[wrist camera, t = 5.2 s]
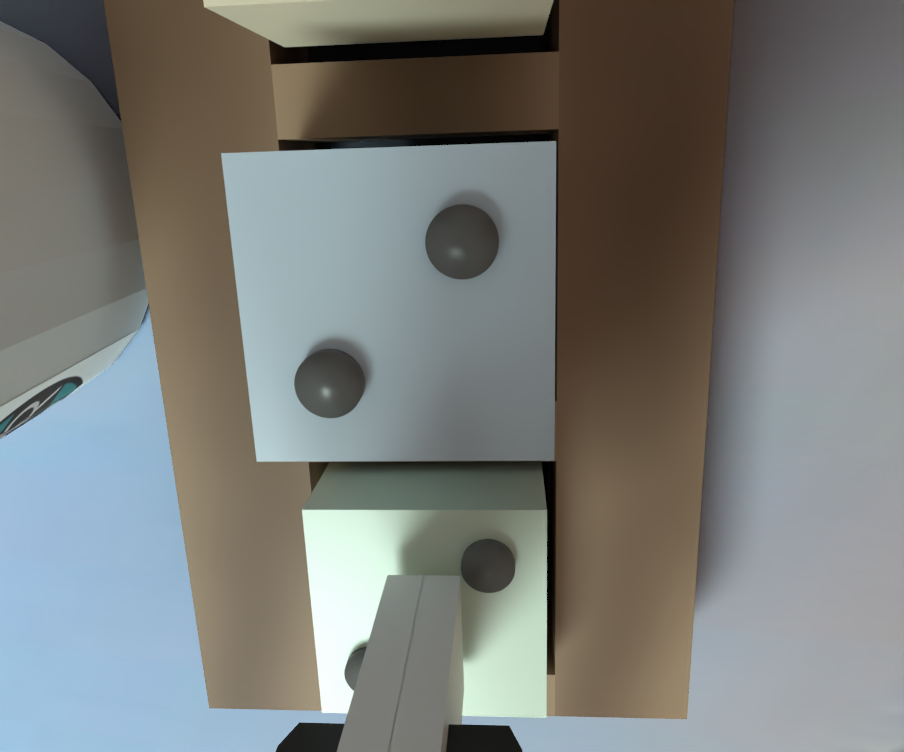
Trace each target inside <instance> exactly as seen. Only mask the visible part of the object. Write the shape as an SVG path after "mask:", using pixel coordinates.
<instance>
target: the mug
mask: <svg viewBox="0 0 904 752" xmlns="http://www.w3.org/2000/svg"><path fill="white" fill-rule="evenodd" d="M148 304H149V303H148V296H147V289H146V283H145V276H144V269H143V263H142V256H141V249H140V243H139V236H138V229H137V223H136V216H135V209H134V202H133V196H132V189H131V182H130V176H129V169H128V162H127V156H126V149H125V142H124V136H123V129H122V122H121V121H120V120H119V118H118V117H117V116H116V114H115V113H114V112H113V110H112V109H111V108H110V106H109V105H108V103H107V102H106V101H105V99H104V98H103V97H102V95H101V94H100V93H99V91H98V90H97V89H96V87H95V86H94V85H93V83H92V82H91V81H90V80H88V79H87V78H86V77H85V76H84V75H83V74H81V73H80V72H79V71H78V70H77V69H75V68H74V67H73V66H72V65H71V64H70V63H68V62H67V61H66V60H65V59H64V58H63V57H61V56H60V55H59V54H58V53H57V52H55V51H54V50H53V49H52V48H51V47H50V46H48V45H47V44H45V43H43V42H41V41H39V40H37V39H35V38H33V37H31V36H29V35H27V34H25V33H23V32H21V31H19V30H17V29H15V28H13V27H11V26H9V25H7V24H5V23H3V22H1V21H0V439H1V438H3V437H4V436H6V435H8V434H9V433H11V432H12V431H14V430H15V429H17V428H19V427H20V426H22V425H23V424H25V423H26V422H28V421H30V420H31V419H33V418H34V417H36V416H37V415H39V414H41V413H42V412H44V411H45V410H47V409H48V408H50V407H52V406H53V405H55V404H56V403H58V402H59V401H61V400H63V399H64V398H66V397H67V396H69V395H70V394H72V393H74V392H75V391H76V390H78V389H80V388H81V387H82V386H84V385H85V384H87V383H88V382H89V381H91V380H92V379H93V378H95V377H96V376H98V375H99V374H100V373H102V372H103V371H105V370H106V369H107V368H109V367H110V366H111V365H113V364H114V362H115V361H116V360H117V358H118V357H119V356H120V354H121V353H122V352H123V350H124V349H125V348H126V346H127V345H128V344H129V342H130V341H131V340H132V338H133V337H134V336H135V334H136V333H137V332H138V330H139V329H140V326H141V323H142V321H143V318H144V315H145V312H146V309H147V307H148Z"/></svg>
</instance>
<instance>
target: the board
mask: <svg viewBox="0 0 904 752" xmlns="http://www.w3.org/2000/svg"><path fill="white" fill-rule="evenodd" d="M103 2H104V9H105V16H106V22H107V29H108V36H109V42H110V49H111V56H112V62H113V69H114V76H115V82H116V89H117V96H118V102H119V109H120V116H121V122H122V129H123V136H124V142H125V149H126V156H127V162H128V169H129V176H130V182H131V189H132V196H133V202H134V209H135V216H136V223H137V229H138V236H139V243H140V249H141V256H142V263H143V269H144V276H145V283H146V289H147V296H148V303H149V309H150V316H151V323H152V329H153V336H154V343H155V349H156V356H157V363H158V369H159V376H160V383H161V389H162V396H163V403H164V409H165V416H166V423H167V429H168V436H169V443H170V449H171V456H172V463H173V469H174V476H175V483H176V489H177V496H178V503H179V509H180V516H181V523H182V529H183V536H184V543H185V549H186V556H187V563H188V569H189V576H190V583H191V589H192V596H193V603H194V609H195V616H196V623H197V629H198V636H199V643H200V649H201V656H202V663H203V669H204V676H205V683H206V689H207V696H208V703H209V708H226V709H270V710H314V711H322V708H321V698H320V688H319V678H318V667H317V657H316V647H315V637H314V627H313V617H312V607H311V597H310V587H309V577H308V567H307V557H306V546H305V536H304V526H303V516H302V509H303V507H304V505H305V504H306V502H307V500H308V498H309V497H310V495H311V493H312V492H313V490H314V488H315V486H316V485H317V483H318V481H319V480H320V478H321V476H322V474H323V473H324V471H325V469H326V467H327V466H328V464H329V462H470V461H297V462H257V460H256V451H255V443H254V434H253V425H252V417H251V408H250V400H249V391H248V382H247V374H246V365H245V356H244V348H243V339H242V330H241V322H240V313H239V304H238V296H237V287H236V279H235V270H234V261H233V253H232V244H231V235H230V227H229V218H228V209H227V201H226V192H225V183H224V175H223V166H222V157H221V153H241V152H268V151H296V150H316V149H315V143H318V142H345V141H372V140H399V139H426V138H452V137H479V136H506V135H533V134H550V141H556V269H555V448H554V461H549V573H548V604H547V716H577V717H621V718H665V719H687V710H688V695H689V680H690V665H691V650H692V635H693V620H694V605H695V589H696V574H697V559H698V544H699V529H700V514H701V499H702V484H703V469H704V454H705V439H706V424H707V409H708V394H709V379H710V364H711V349H712V334H713V319H714V304H715V289H716V274H717V259H718V244H719V229H720V213H721V198H722V183H723V168H724V153H725V138H726V123H727V108H728V93H729V78H730V63H731V48H732V33H733V18H734V3H735V0H554V1H553V4H552V7H551V11H550V52H536V53H514V54H492V55H470V56H448V57H427V58H405V59H383V60H361V61H339V62H317V63H308V51H307V46H302V47H283V46H281V45H279V44H277V43H275V42H273V41H271V40H269V39H267V38H265V37H263V36H261V35H259V34H257V33H255V32H253V31H251V30H249V29H247V28H245V27H243V26H241V25H239V24H237V23H235V22H233V21H231V20H229V19H227V18H225V17H223V16H221V15H219V14H217V13H215V12H213V11H211V10H209V9H207V8H205V7H204V2H203V0H103Z"/></svg>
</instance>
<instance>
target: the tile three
mask: <svg viewBox="0 0 904 752" xmlns="http://www.w3.org/2000/svg"><path fill="white" fill-rule="evenodd" d="M302 516H303V526H304V536H305V546H306V557H307V567H308V577H309V587H310V597H311V607H312V617H313V627H314V637H315V647H316V657H317V667H318V678H319V688H320V698H321V708H322V713H348V710H349V707H350V704H351V700H352V697H353V693H354V690H355V686H356V683H357V679H358V676H359V672H360V669H361V665H362V662H363V658H364V655H365V651H366V648H367V644H368V641H369V637H370V634H371V631H372V627H373V624H374V620H375V617H376V613H377V610H378V606H379V603H380V599H381V596H382V592H383V589H384V585H385V582H386V578H387V575H438V576H460V581H461V610H462V640H463V669H464V697H463V710H462V716H494V717H537V718H547V505H546V497H545V488H544V479H543V471H542V462H541V461H470V462H329V464H328V466H327V467H326V469H325V471H324V473H323V474H322V476H321V478H320V480H319V481H318V483H317V485H316V486H315V488H314V490H313V492H312V493H311V495H310V497H309V498H308V500H307V502H306V504H305V505H304V507H303V509H302Z"/></svg>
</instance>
